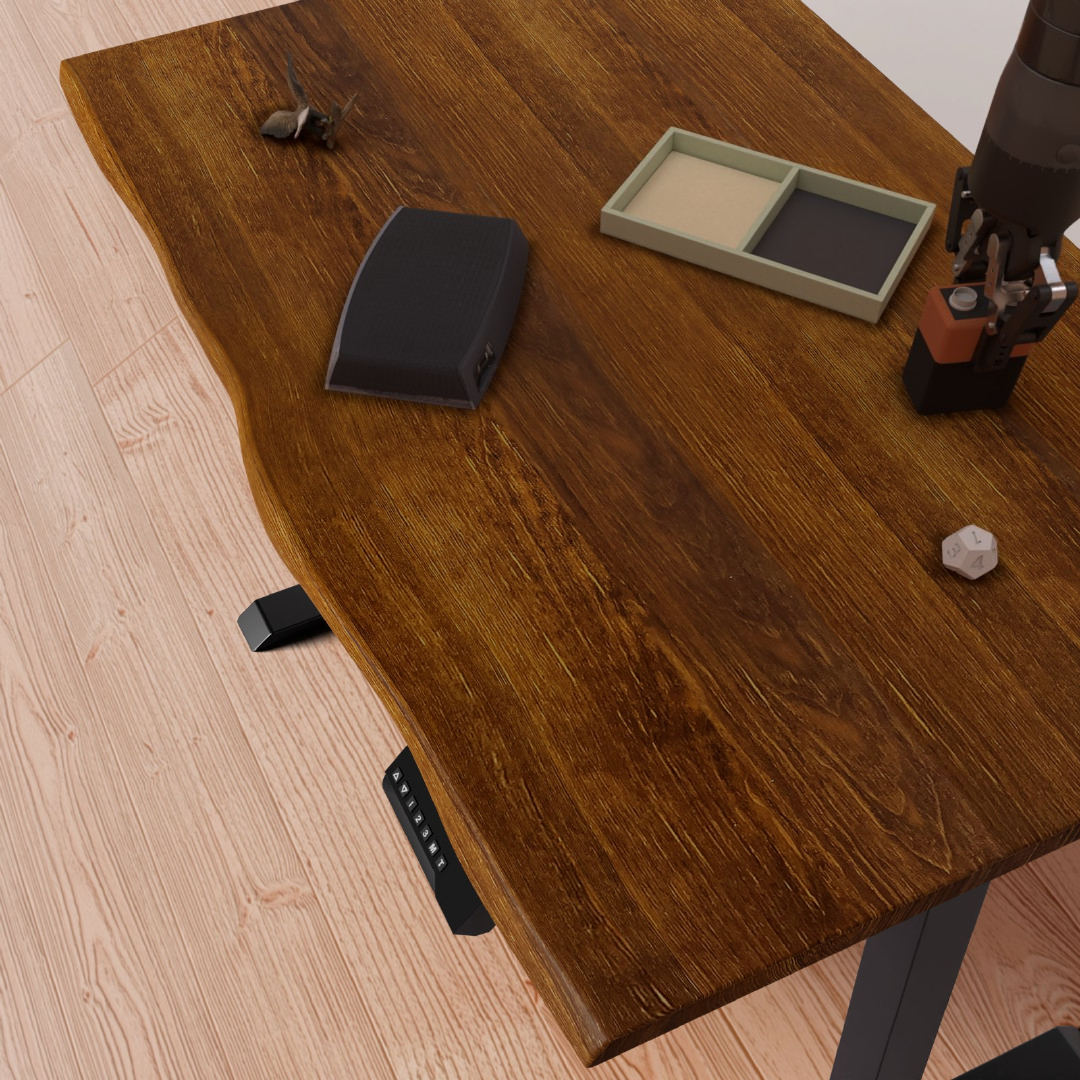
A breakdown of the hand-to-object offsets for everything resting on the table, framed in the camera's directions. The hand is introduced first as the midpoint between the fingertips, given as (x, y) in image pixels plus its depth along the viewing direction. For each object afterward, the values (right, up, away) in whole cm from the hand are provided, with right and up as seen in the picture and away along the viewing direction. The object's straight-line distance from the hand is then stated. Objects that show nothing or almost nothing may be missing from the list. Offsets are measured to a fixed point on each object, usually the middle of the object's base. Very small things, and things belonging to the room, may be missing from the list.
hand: (971, 341), depth 82 cm
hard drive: (-39, +3, +10) cm, 40 cm away
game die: (-3, -16, -5) cm, 17 cm away
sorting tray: (-12, +12, +16) cm, 23 cm away
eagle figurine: (-52, +23, +26) cm, 63 cm away
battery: (0, -3, +4) cm, 6 cm away
